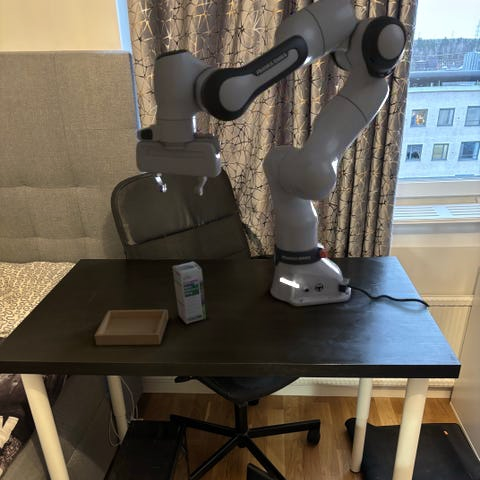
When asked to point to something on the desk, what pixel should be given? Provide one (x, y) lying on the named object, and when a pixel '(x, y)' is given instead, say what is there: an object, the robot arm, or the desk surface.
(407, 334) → the desk surface
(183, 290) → the syrup box
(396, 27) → the robot arm
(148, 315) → the tray
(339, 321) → the desk surface
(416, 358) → the desk surface
